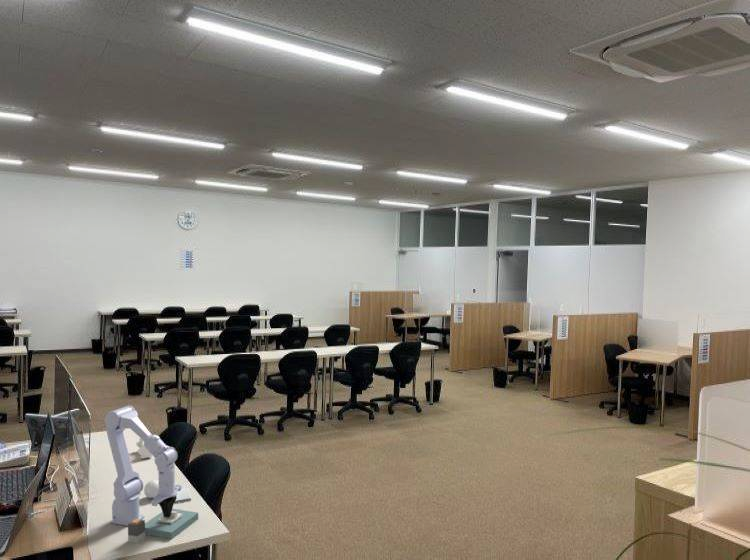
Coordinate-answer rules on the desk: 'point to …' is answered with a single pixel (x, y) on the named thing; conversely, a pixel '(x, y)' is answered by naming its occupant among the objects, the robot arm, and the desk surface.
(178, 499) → the hard drive
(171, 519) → the plate
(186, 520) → the socket board
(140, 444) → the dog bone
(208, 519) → the desk surface
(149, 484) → the white rounded ovoid
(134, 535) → the plug
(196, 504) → the desk surface
